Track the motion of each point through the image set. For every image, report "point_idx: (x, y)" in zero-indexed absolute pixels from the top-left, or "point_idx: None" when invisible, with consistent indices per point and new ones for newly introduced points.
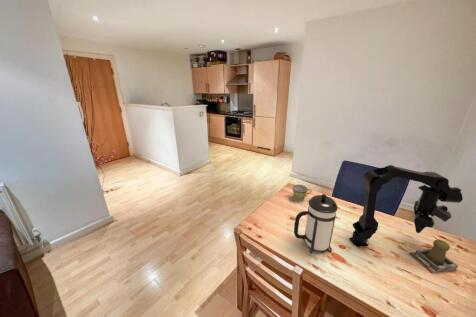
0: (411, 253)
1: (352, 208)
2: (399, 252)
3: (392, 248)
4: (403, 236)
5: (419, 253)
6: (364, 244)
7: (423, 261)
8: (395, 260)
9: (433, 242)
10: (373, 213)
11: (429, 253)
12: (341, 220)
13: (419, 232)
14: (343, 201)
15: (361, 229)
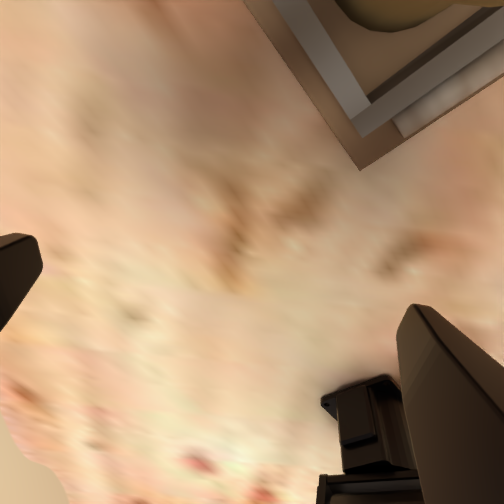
0: (367, 154)
1: (41, 400)
2: (371, 225)
3: (342, 261)
4: (126, 169)
5: (400, 110)
6: (394, 398)
7: (490, 80)
8: (481, 261)
9: (477, 4)
10: None
11: (417, 16)
12: (208, 444)
13: (446, 324)
14: (9, 426)
15: (357, 492)
